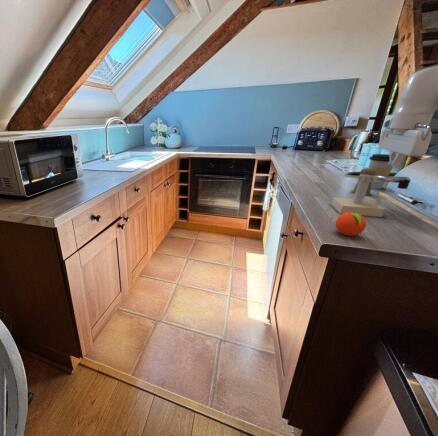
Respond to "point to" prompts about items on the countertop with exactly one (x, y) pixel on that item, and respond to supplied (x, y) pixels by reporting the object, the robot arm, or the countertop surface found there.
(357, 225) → the clementine
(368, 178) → the spout
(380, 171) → the coffee cup
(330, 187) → the countertop surface
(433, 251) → the countertop surface
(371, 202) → the base
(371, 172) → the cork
